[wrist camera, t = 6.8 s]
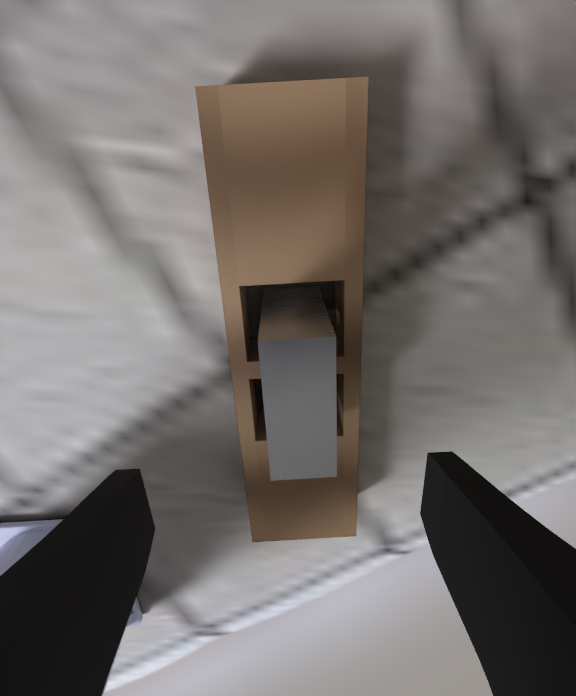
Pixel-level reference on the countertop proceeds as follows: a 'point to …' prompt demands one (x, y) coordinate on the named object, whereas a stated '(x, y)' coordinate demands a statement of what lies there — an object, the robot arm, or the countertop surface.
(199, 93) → the rail
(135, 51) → the countertop surface
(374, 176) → the countertop surface
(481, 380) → the countertop surface
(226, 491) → the countertop surface
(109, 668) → the robot arm
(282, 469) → the brushed metal block
